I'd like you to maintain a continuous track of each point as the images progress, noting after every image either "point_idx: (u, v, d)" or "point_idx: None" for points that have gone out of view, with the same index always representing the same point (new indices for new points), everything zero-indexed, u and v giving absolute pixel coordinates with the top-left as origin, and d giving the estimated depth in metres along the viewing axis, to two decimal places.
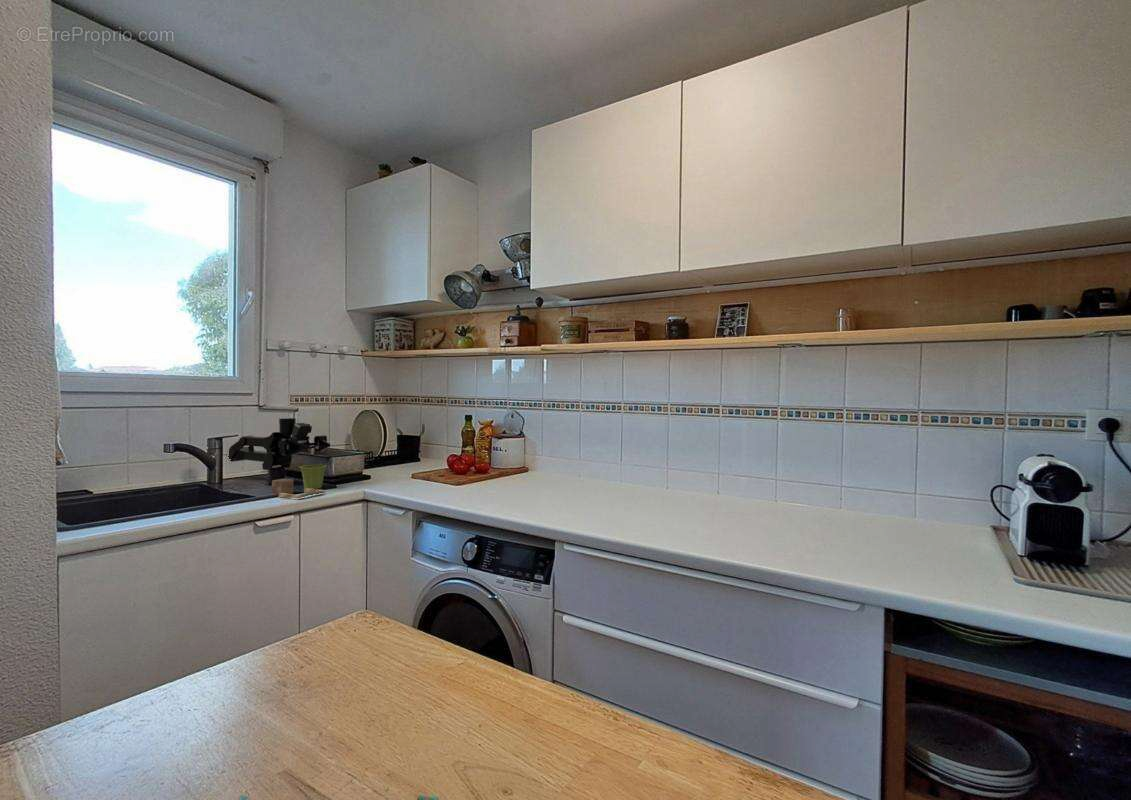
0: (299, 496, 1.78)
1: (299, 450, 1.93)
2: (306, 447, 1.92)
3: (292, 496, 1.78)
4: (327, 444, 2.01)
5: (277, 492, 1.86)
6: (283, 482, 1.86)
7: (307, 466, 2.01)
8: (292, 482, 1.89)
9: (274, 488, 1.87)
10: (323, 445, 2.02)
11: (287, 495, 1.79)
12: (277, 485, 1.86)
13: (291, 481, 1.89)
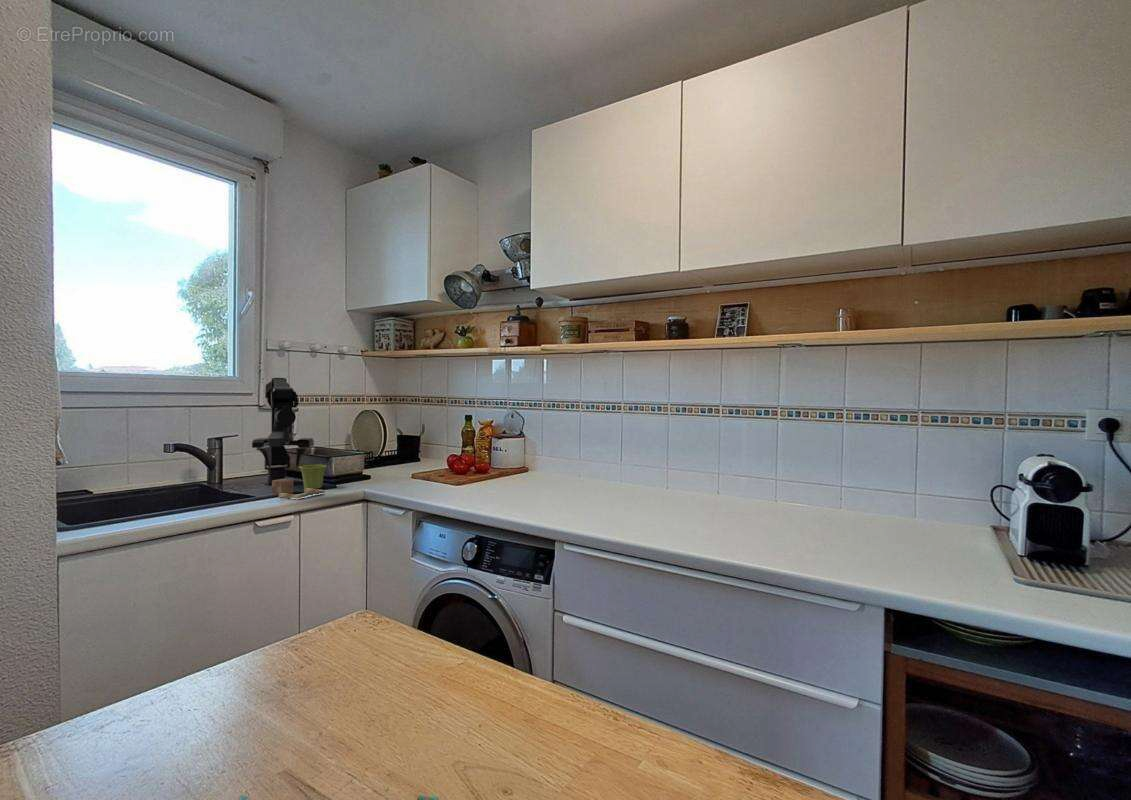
0: (299, 496, 1.78)
1: None
2: None
3: (292, 496, 1.78)
4: None
5: (277, 492, 1.86)
6: (283, 482, 1.86)
7: (307, 466, 2.01)
8: (292, 482, 1.89)
9: (274, 488, 1.87)
10: None
11: (287, 495, 1.79)
12: (277, 485, 1.86)
13: (291, 481, 1.89)
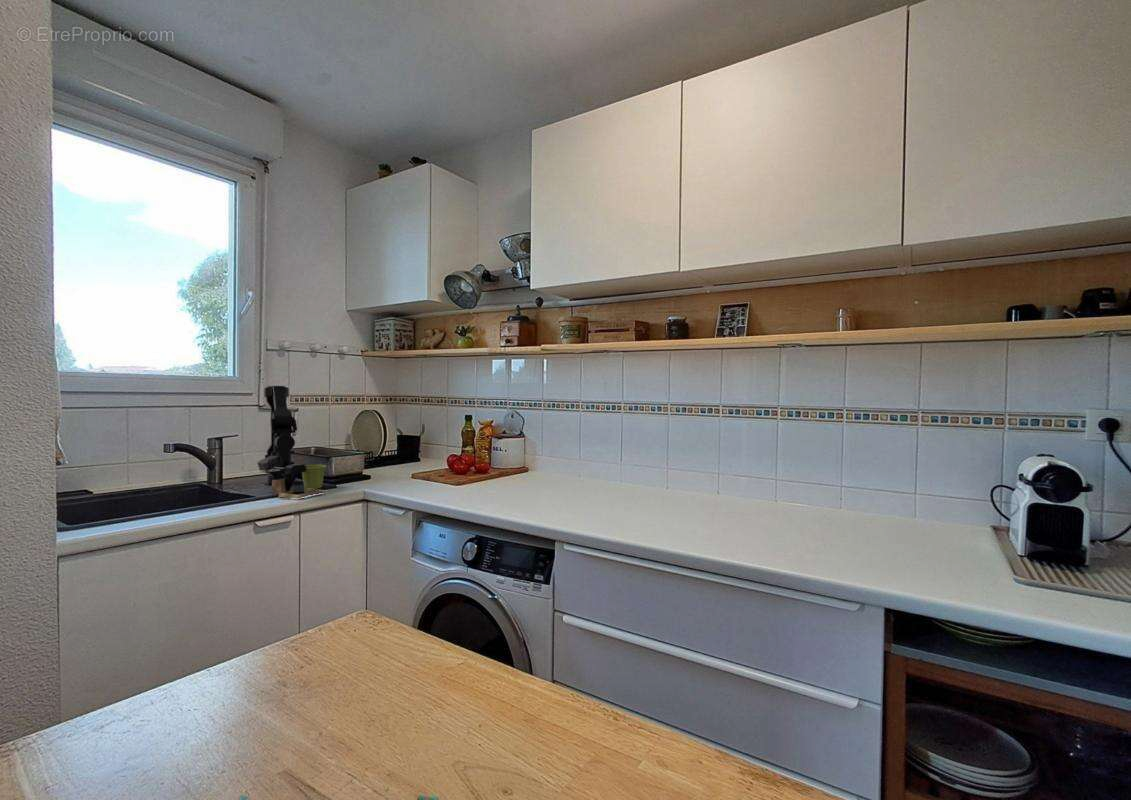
0: (299, 496, 1.78)
1: None
2: None
3: (292, 496, 1.78)
4: None
5: (277, 492, 1.86)
6: (283, 482, 1.86)
7: (307, 466, 2.01)
8: None
9: (274, 487, 1.87)
10: None
11: (287, 495, 1.79)
12: (277, 484, 1.86)
13: None
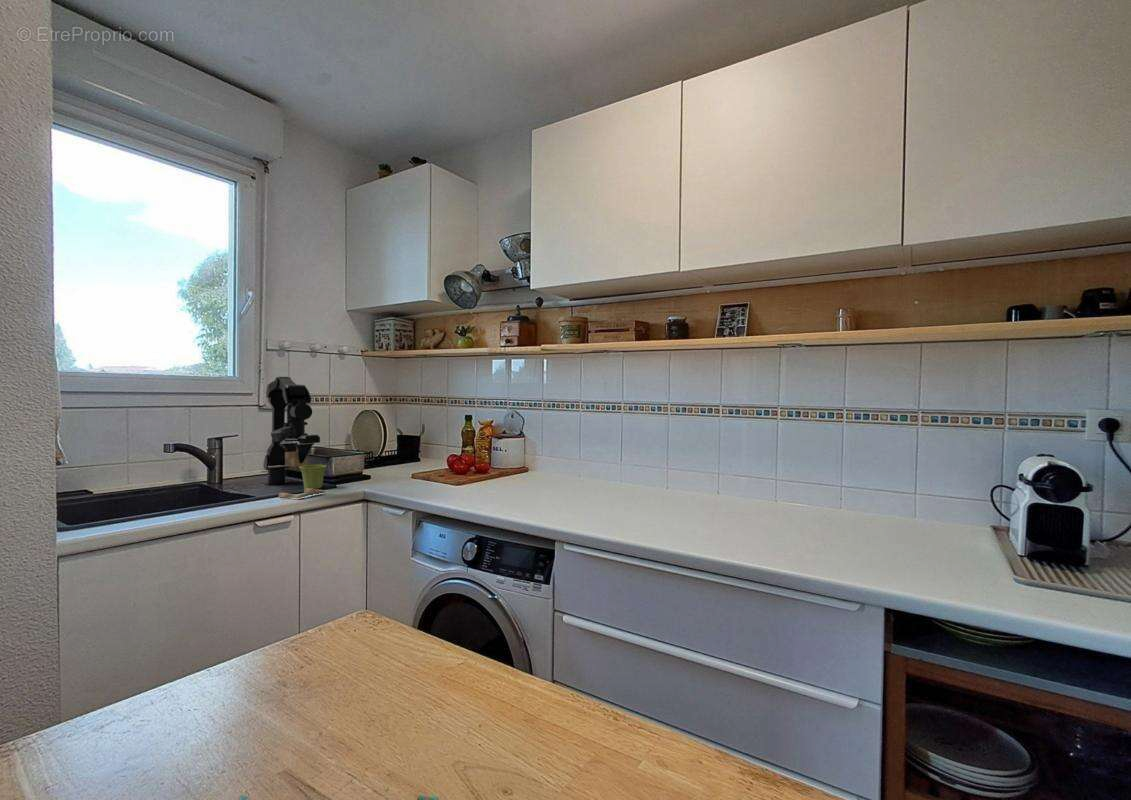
0: (299, 496, 1.78)
1: None
2: None
3: (292, 496, 1.78)
4: None
5: (290, 464, 1.82)
6: (296, 453, 1.82)
7: (307, 466, 2.01)
8: None
9: (287, 459, 1.83)
10: None
11: (287, 495, 1.79)
12: (290, 456, 1.82)
13: None
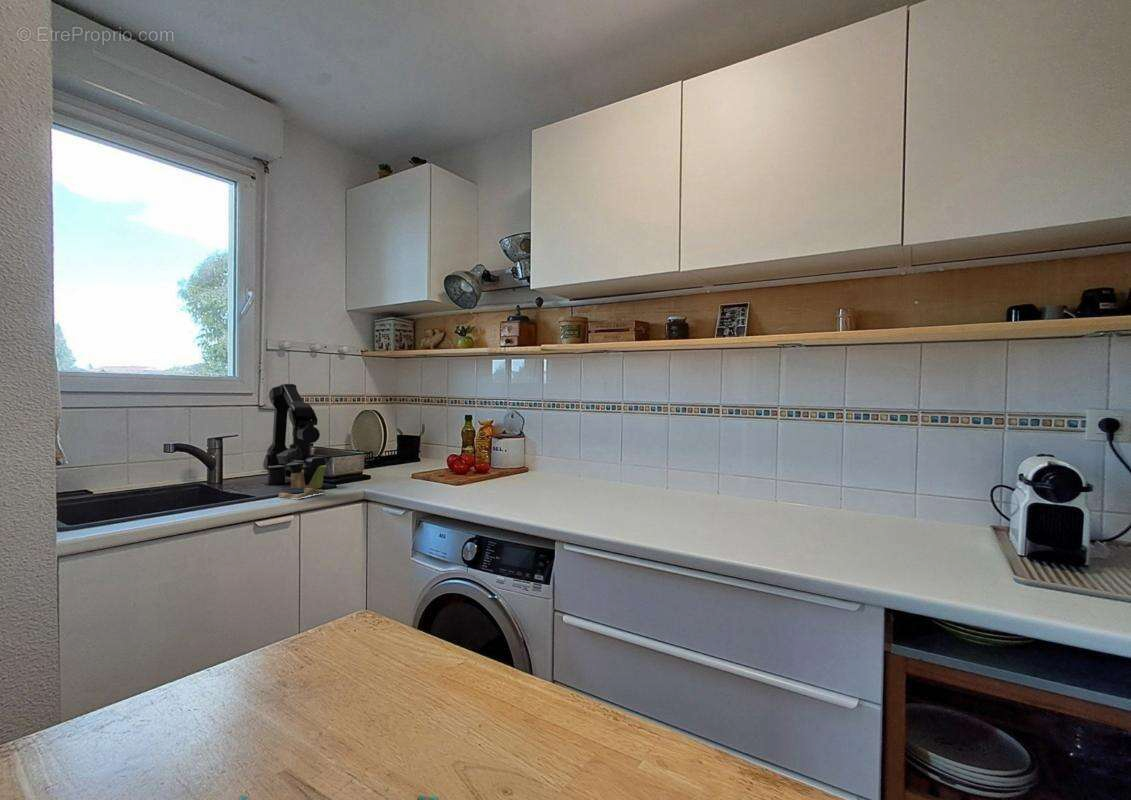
0: (299, 496, 1.78)
1: None
2: None
3: (292, 496, 1.78)
4: None
5: (296, 485, 1.81)
6: (302, 475, 1.81)
7: None
8: None
9: (293, 481, 1.82)
10: None
11: (287, 495, 1.79)
12: (296, 478, 1.81)
13: None
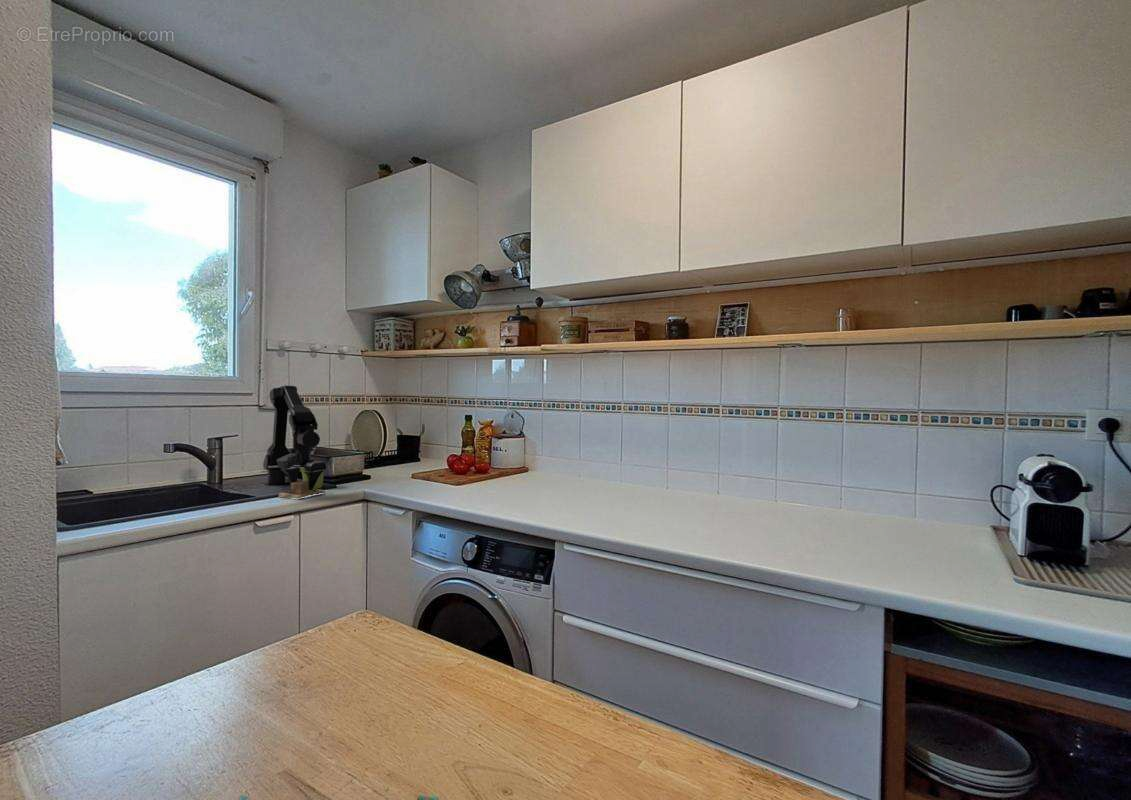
0: (299, 496, 1.78)
1: None
2: None
3: (292, 496, 1.78)
4: None
5: None
6: (302, 484, 1.82)
7: None
8: None
9: (293, 490, 1.82)
10: None
11: (287, 495, 1.79)
12: (296, 487, 1.81)
13: None
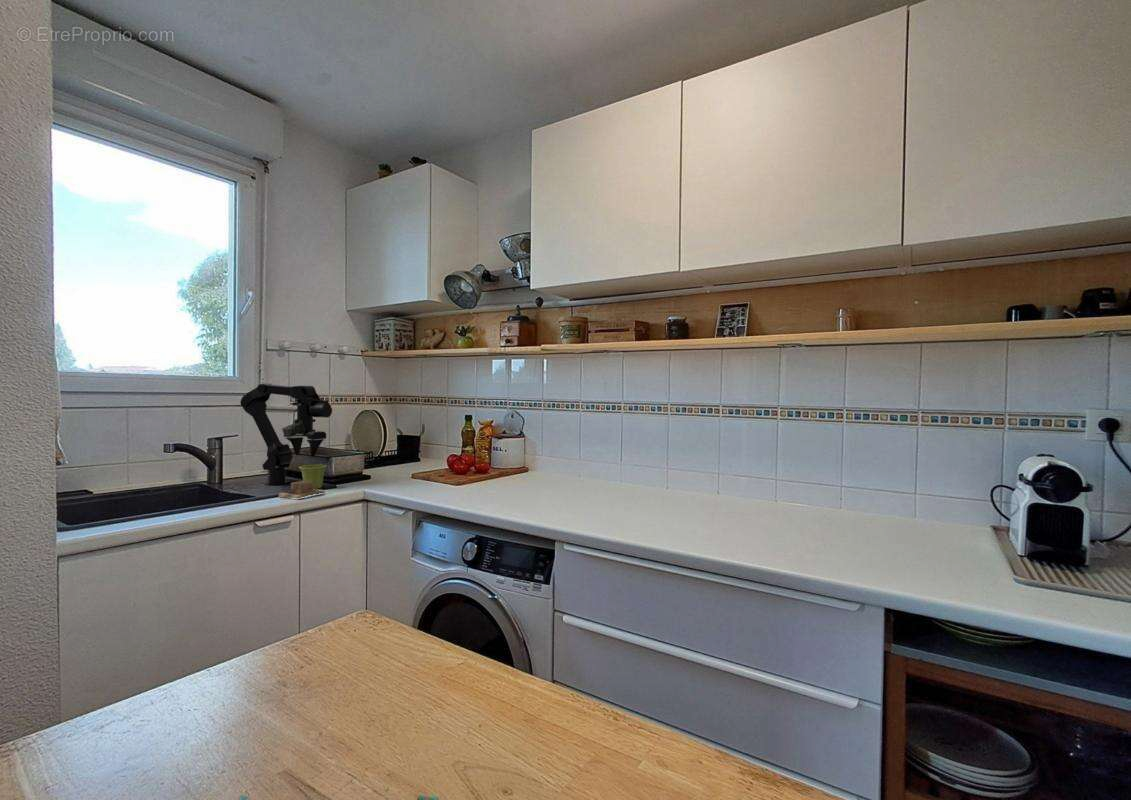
0: (299, 496, 1.78)
1: None
2: None
3: (292, 496, 1.78)
4: None
5: None
6: (302, 484, 1.82)
7: (307, 466, 2.01)
8: (311, 484, 1.85)
9: (293, 490, 1.82)
10: None
11: (287, 495, 1.79)
12: (296, 487, 1.81)
13: (310, 483, 1.84)
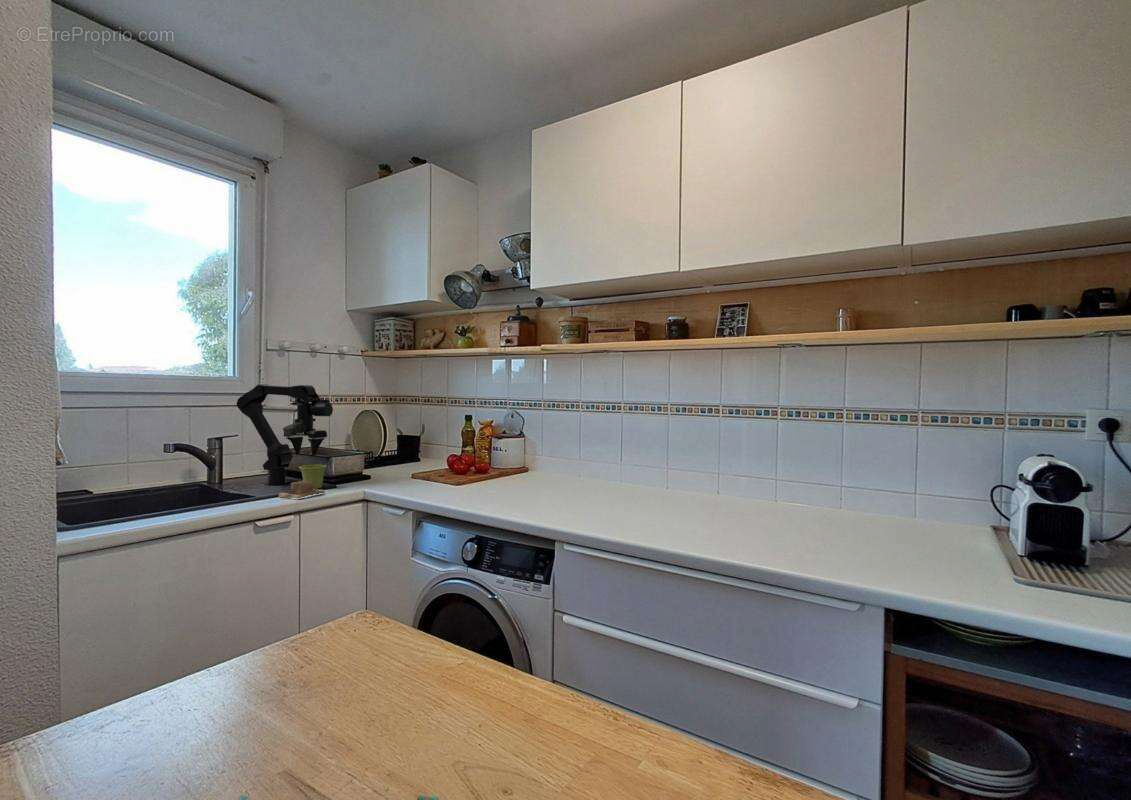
0: (299, 496, 1.78)
1: None
2: None
3: (292, 496, 1.78)
4: None
5: None
6: (302, 484, 1.82)
7: (307, 466, 2.01)
8: (311, 484, 1.85)
9: (293, 490, 1.82)
10: None
11: (287, 495, 1.79)
12: (296, 487, 1.81)
13: (310, 483, 1.84)
